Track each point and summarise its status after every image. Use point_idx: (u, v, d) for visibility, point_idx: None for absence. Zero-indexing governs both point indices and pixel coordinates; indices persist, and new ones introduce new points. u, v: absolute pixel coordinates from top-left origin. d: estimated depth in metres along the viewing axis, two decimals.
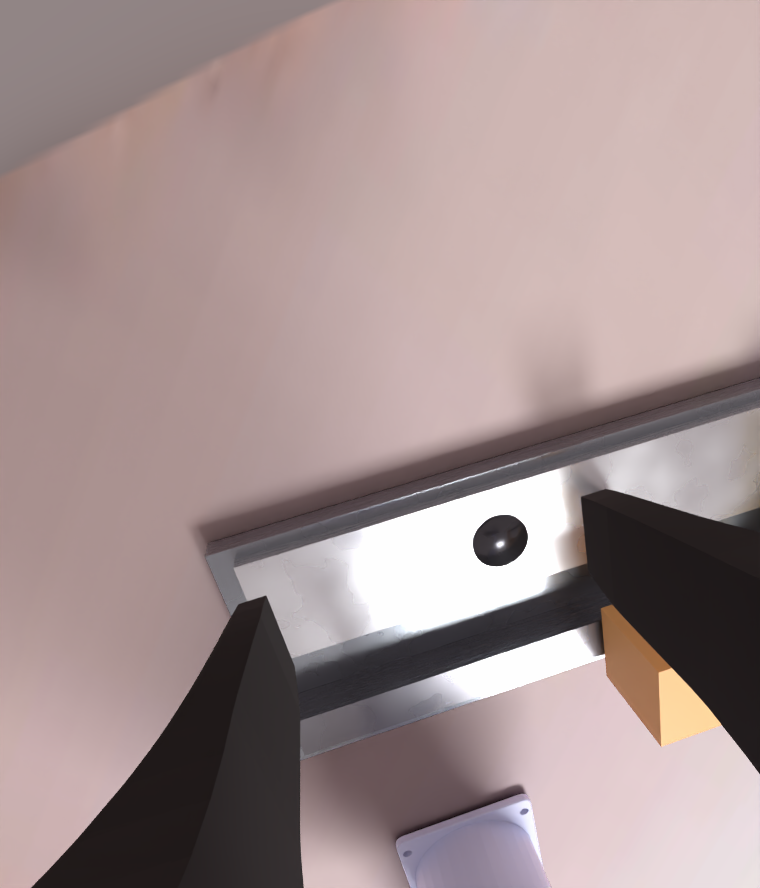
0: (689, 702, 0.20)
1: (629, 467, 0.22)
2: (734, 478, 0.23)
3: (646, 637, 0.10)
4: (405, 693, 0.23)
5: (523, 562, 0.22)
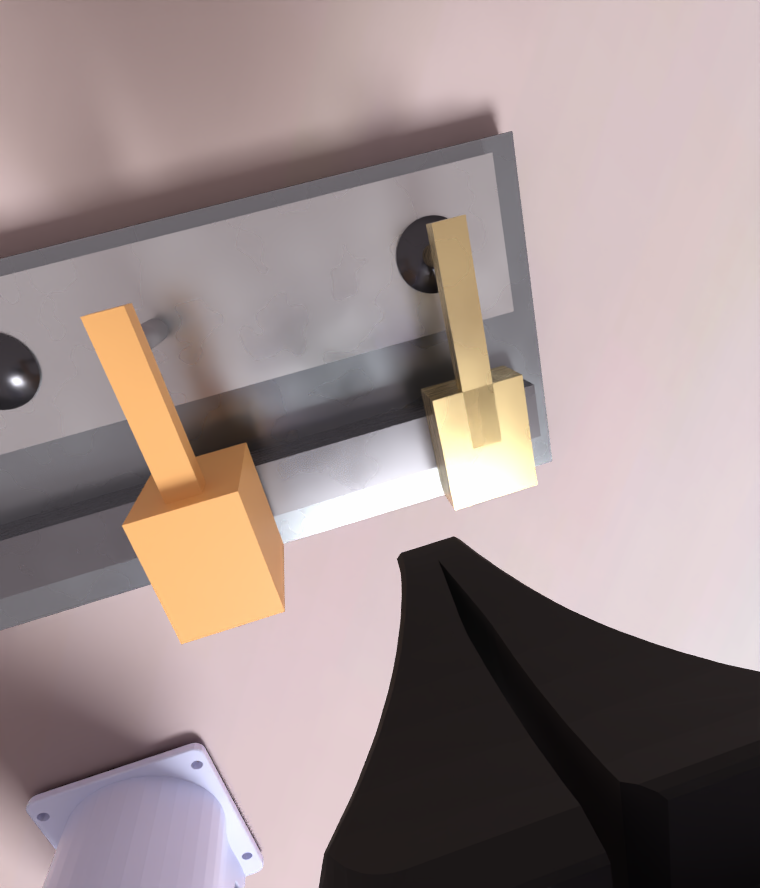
0: (199, 577, 0.14)
1: (169, 268, 0.16)
2: (343, 297, 0.17)
3: None
4: None
5: (46, 406, 0.16)
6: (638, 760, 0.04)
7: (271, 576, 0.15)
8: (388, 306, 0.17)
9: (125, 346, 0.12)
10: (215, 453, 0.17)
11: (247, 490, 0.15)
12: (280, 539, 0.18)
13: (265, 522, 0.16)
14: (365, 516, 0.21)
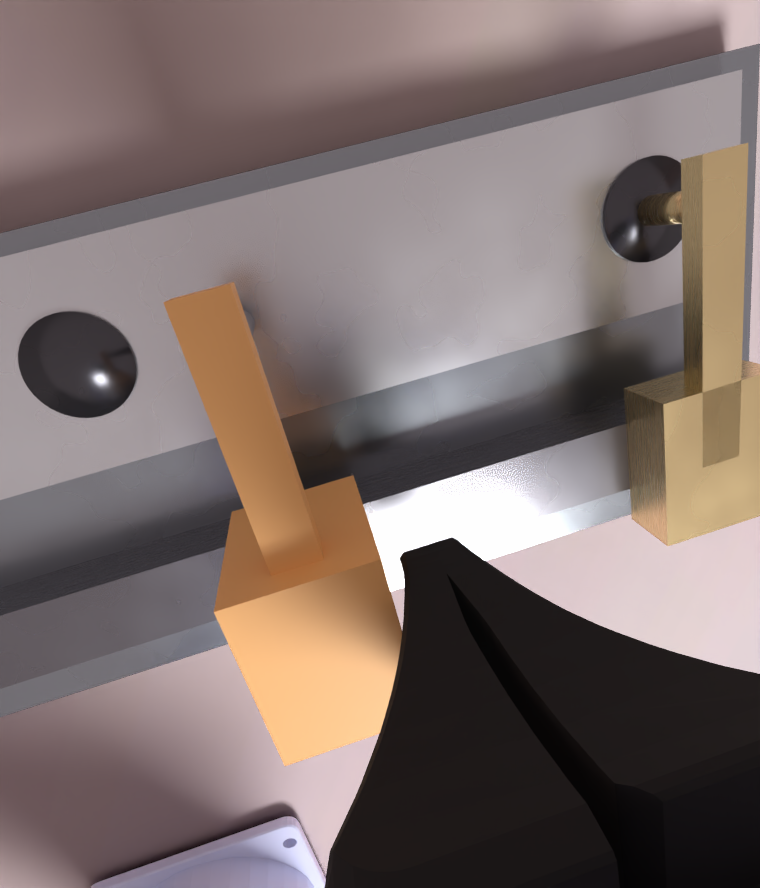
0: (317, 677, 0.10)
1: (314, 225, 0.12)
2: (530, 267, 0.13)
3: None
4: None
5: (142, 412, 0.12)
6: (632, 761, 0.04)
7: None
8: (586, 279, 0.13)
9: (228, 347, 0.08)
10: (314, 490, 0.12)
11: None
12: None
13: None
14: (518, 547, 0.16)
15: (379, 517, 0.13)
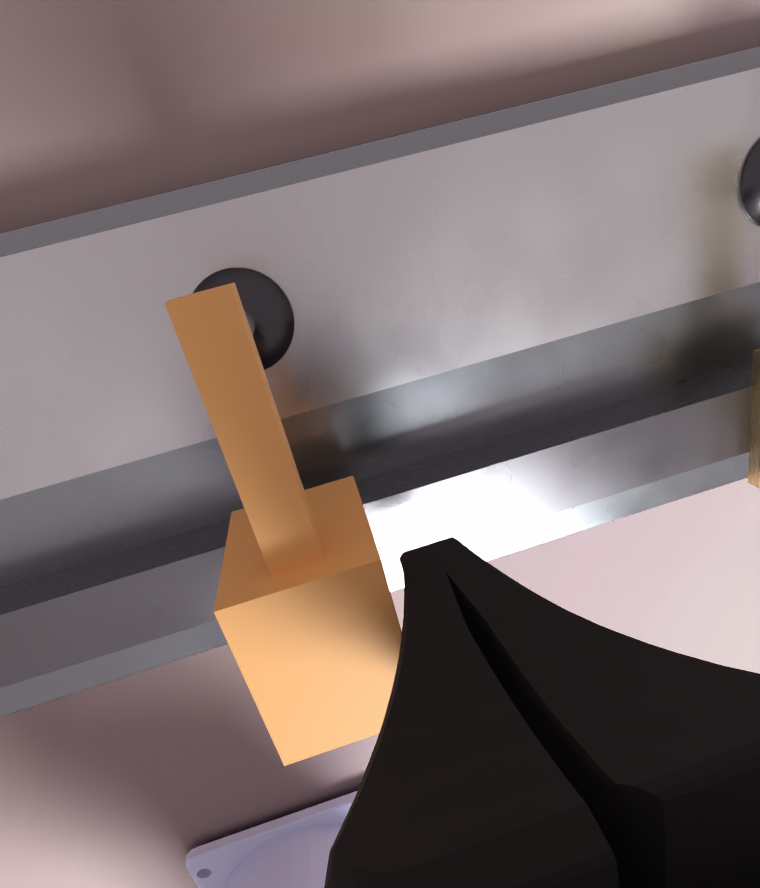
0: (317, 677, 0.10)
1: (472, 186, 0.12)
2: (668, 231, 0.13)
3: None
4: (92, 602, 0.13)
5: (294, 369, 0.13)
6: (632, 761, 0.04)
7: None
8: (719, 243, 0.14)
9: (229, 348, 0.08)
10: (314, 491, 0.12)
11: None
12: None
13: None
14: (626, 514, 0.17)
15: (514, 476, 0.14)
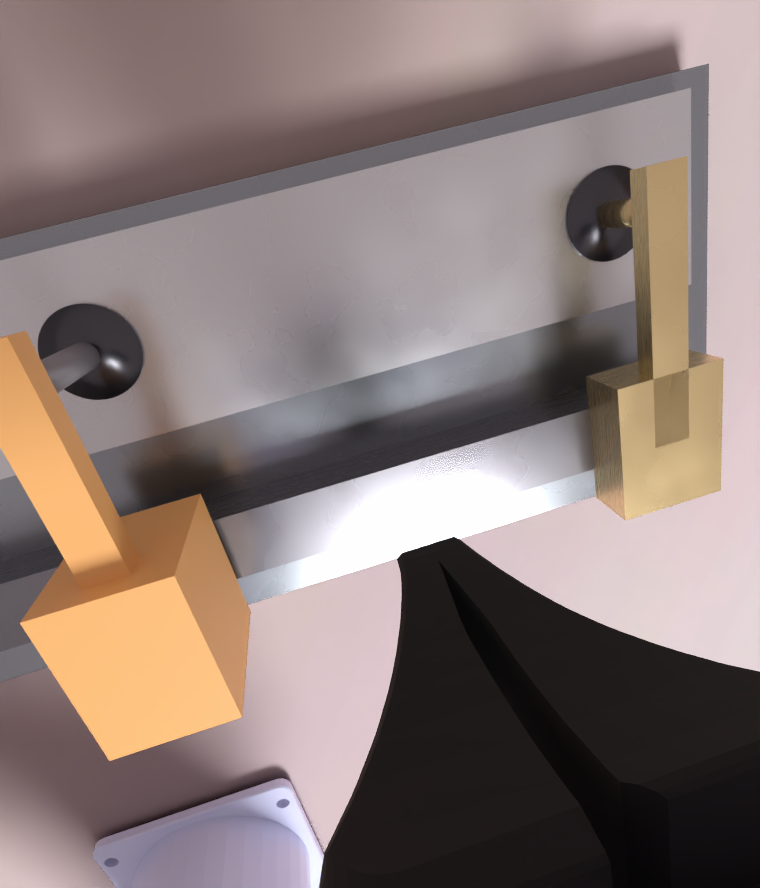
0: (129, 681, 0.11)
1: (303, 227, 0.13)
2: (500, 266, 0.14)
3: None
4: None
5: (148, 395, 0.14)
6: (637, 759, 0.04)
7: (223, 676, 0.11)
8: (551, 277, 0.14)
9: (13, 391, 0.09)
10: (161, 508, 0.13)
11: (193, 565, 0.12)
12: (246, 607, 0.15)
13: (222, 596, 0.13)
14: (494, 525, 0.18)
15: (363, 492, 0.15)
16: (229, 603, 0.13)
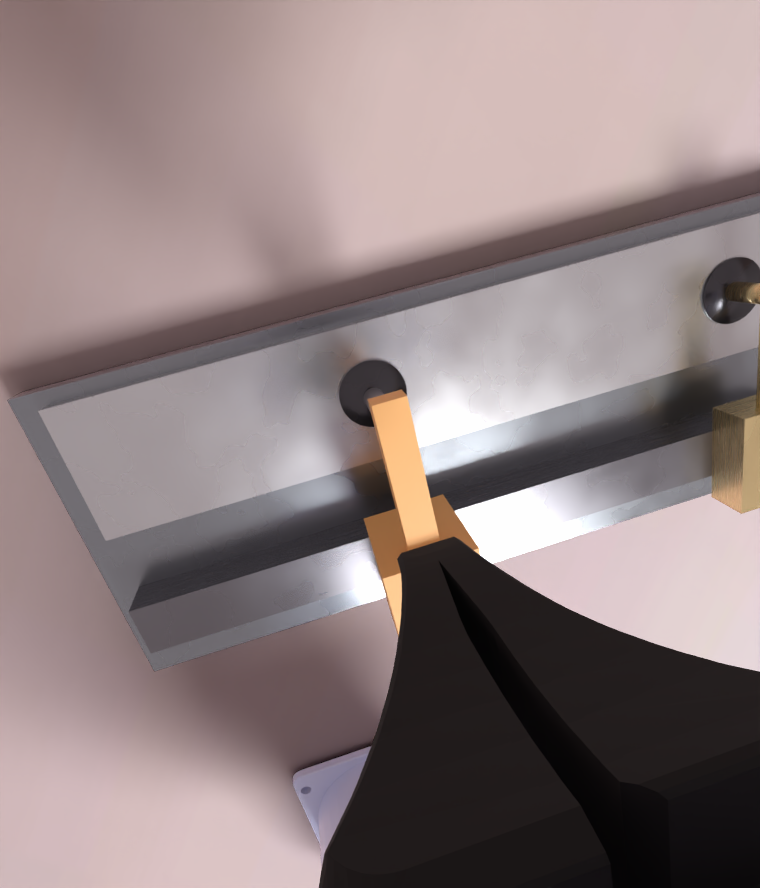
0: None
1: (524, 305, 0.18)
2: (654, 328, 0.19)
3: None
4: (267, 579, 0.19)
5: None
6: (637, 759, 0.04)
7: None
8: (688, 335, 0.20)
9: (402, 428, 0.14)
10: None
11: None
12: None
13: None
14: (625, 518, 0.23)
15: (548, 493, 0.20)
16: None
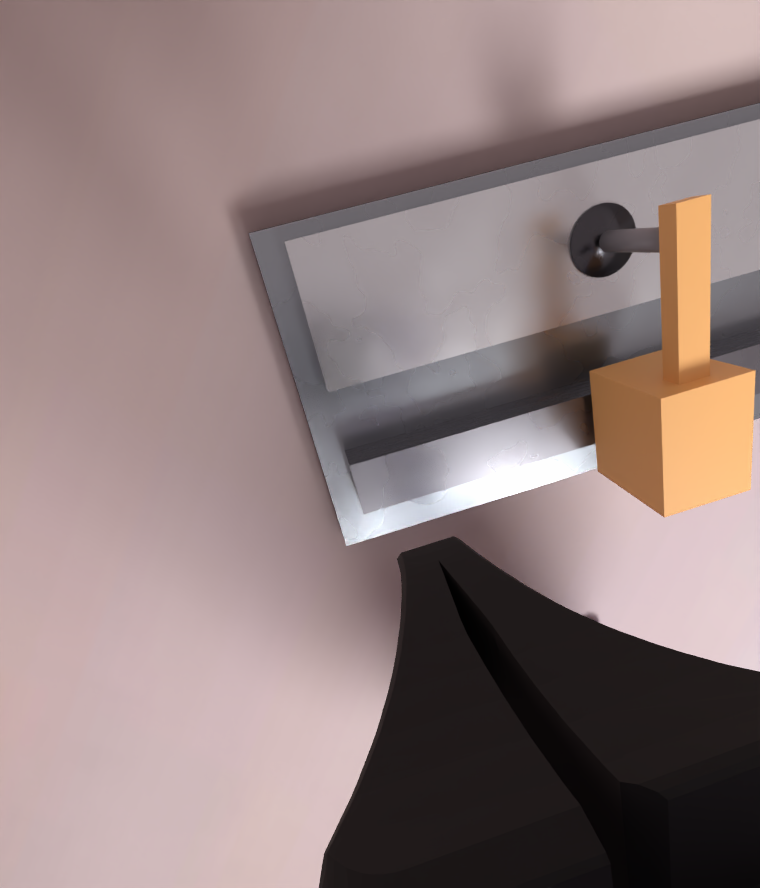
0: (700, 452, 0.16)
1: (759, 149, 0.18)
2: None
3: None
4: (484, 436, 0.19)
5: (627, 276, 0.19)
6: (637, 759, 0.04)
7: (749, 455, 0.16)
8: None
9: (699, 232, 0.14)
10: (646, 356, 0.18)
11: None
12: None
13: None
14: None
15: None
16: None
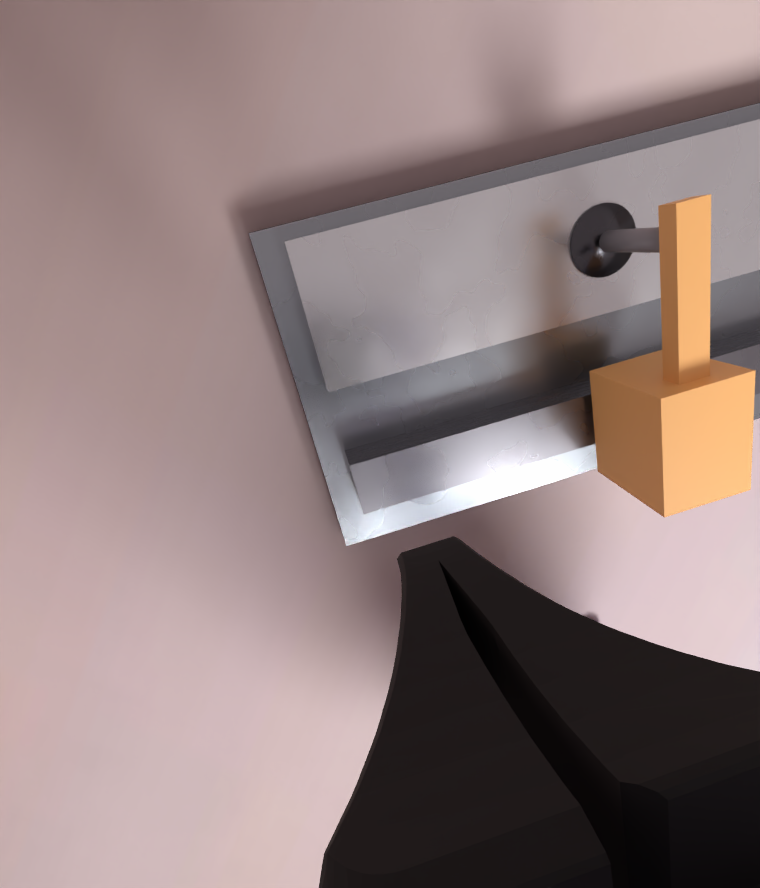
0: (700, 452, 0.16)
1: (759, 149, 0.18)
2: None
3: None
4: (484, 436, 0.19)
5: (627, 276, 0.19)
6: (637, 759, 0.04)
7: (749, 455, 0.16)
8: None
9: (699, 232, 0.14)
10: (646, 356, 0.18)
11: None
12: None
13: None
14: None
15: None
16: None
